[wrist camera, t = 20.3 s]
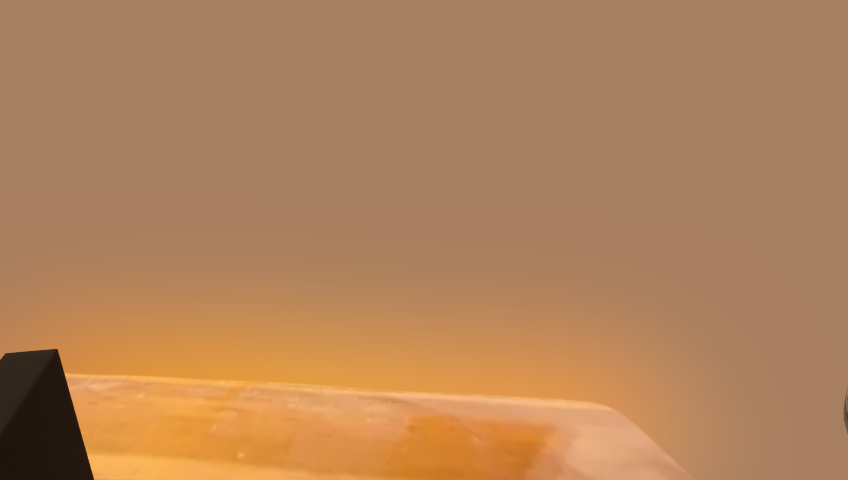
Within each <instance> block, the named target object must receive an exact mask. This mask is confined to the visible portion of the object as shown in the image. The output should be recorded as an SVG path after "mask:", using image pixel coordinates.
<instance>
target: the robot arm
mask: <svg viewBox="0 0 848 480" xmlns="http://www.w3.org/2000/svg"><path fill="white" fill-rule="evenodd" d="M0 480H94V478H93V474H92V471H91V467H90V464H89V460H88V456H87V453H86V449H85V446H84V442H83V439H82V435H81V431H80V428H79V424H78V421H77V417H76V414H75V410H74V406H73V403H72V399H71V396H70V392H69V389H68V385H67V381H66V378H65V374H64V371H63V367H62V364H61V360H60V357H59V353H58V350H57V349H51V350H40V351H28V352H17V353H6V354H5V355H4V356H3V357H2V359H1V360H0Z"/></svg>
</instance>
